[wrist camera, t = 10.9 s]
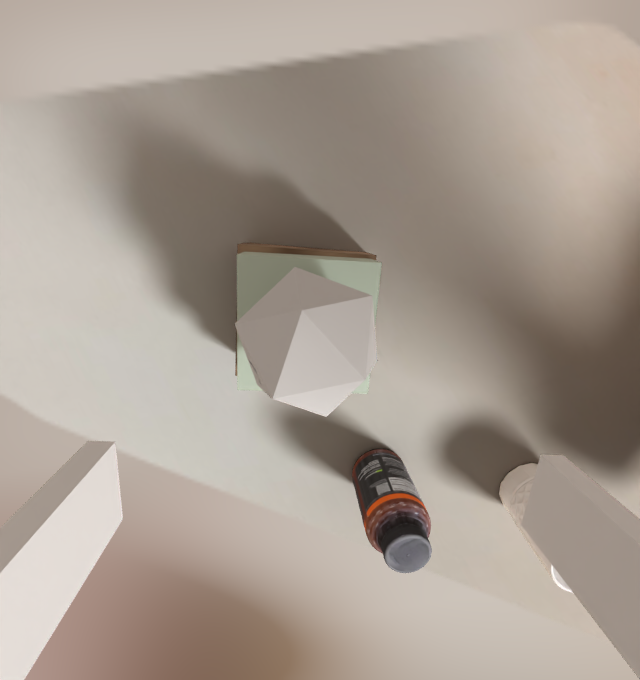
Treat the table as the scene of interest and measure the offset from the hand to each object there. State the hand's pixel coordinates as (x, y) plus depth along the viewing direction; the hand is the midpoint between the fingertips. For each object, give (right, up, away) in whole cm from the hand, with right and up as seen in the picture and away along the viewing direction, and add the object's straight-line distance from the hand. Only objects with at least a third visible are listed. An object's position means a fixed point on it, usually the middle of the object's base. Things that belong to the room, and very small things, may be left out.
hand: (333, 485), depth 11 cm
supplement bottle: (+6, -10, +29) cm, 31 cm away
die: (-1, +5, +15) cm, 16 cm away
